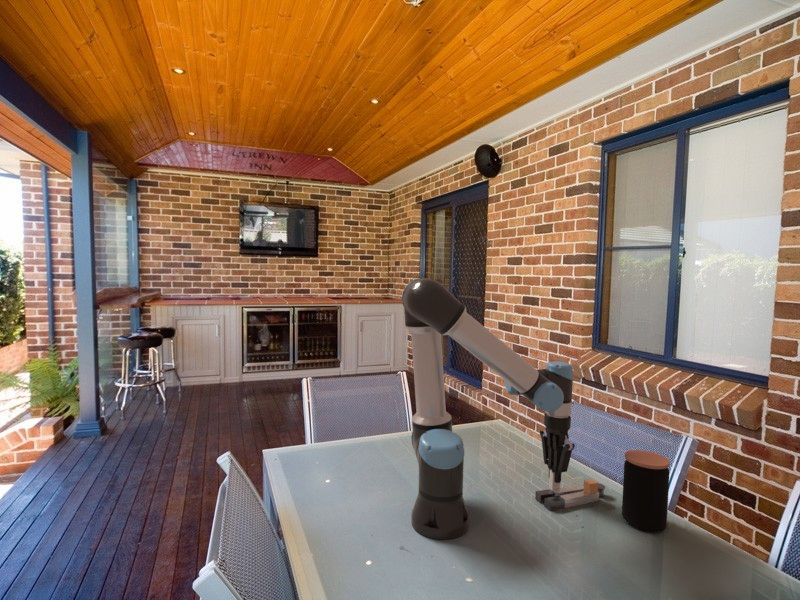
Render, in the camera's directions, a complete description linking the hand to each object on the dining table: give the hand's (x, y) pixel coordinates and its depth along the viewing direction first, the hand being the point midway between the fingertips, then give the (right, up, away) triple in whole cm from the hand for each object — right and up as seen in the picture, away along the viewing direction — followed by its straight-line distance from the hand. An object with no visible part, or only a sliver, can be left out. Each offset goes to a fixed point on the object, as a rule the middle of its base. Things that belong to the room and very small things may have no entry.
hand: (554, 491), depth 136 cm
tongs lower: (+5, -2, -3) cm, 6 cm away
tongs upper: (+2, -1, -1) cm, 3 cm away
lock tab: (+10, +1, -3) cm, 10 cm away
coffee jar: (+19, -3, -14) cm, 24 cm away
